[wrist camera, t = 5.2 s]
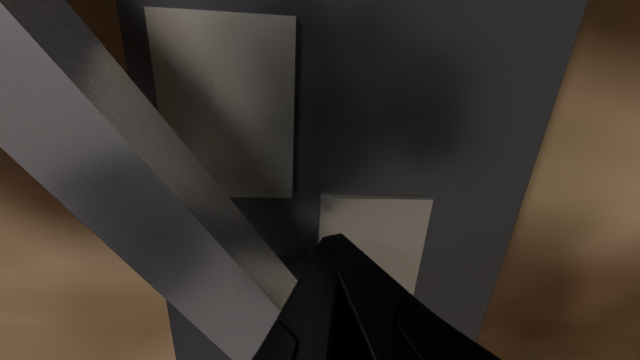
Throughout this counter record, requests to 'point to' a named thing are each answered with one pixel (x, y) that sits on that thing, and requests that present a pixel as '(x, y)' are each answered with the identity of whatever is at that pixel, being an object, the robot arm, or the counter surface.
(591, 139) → the counter surface
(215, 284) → the cable arm
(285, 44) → the chassis
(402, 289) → the robot arm
